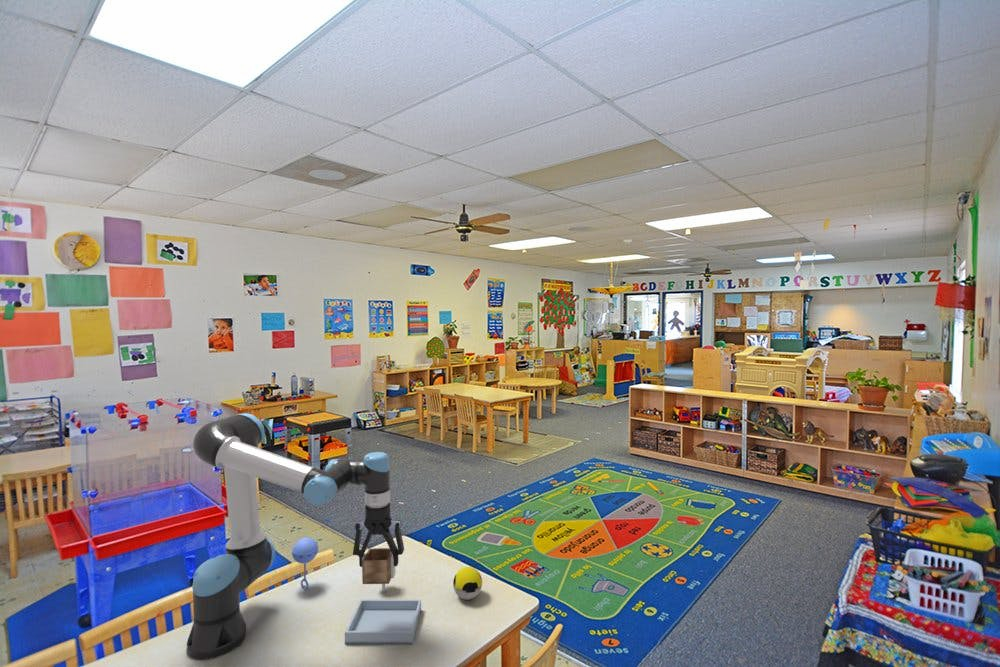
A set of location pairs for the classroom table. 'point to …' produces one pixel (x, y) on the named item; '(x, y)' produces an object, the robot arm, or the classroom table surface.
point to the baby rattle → (305, 554)
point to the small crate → (377, 566)
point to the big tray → (384, 622)
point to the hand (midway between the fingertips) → (379, 575)
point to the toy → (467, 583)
